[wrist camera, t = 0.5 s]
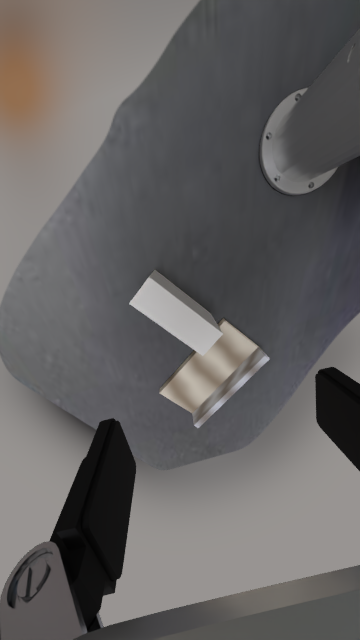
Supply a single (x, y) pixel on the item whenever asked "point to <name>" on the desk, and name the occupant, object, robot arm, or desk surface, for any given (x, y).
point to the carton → (177, 313)
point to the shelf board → (214, 373)
